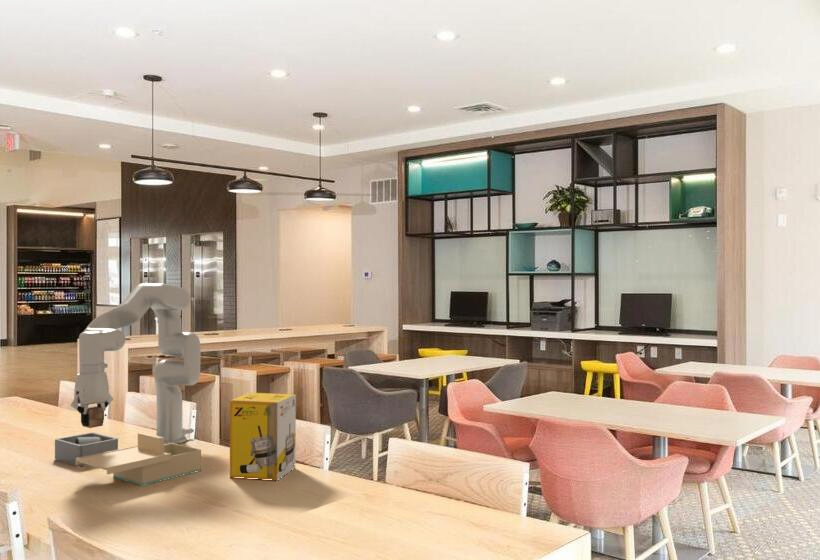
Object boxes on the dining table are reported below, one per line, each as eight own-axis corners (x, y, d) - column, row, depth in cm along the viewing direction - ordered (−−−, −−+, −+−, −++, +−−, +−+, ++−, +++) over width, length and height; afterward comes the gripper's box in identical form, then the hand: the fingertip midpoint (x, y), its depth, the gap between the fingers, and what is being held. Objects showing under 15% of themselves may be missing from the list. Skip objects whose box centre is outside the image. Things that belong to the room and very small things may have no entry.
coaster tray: (92, 451, 278) (92, 432, 278) (118, 458, 268) (118, 438, 268) (54, 459, 266) (54, 439, 266) (79, 466, 256) (79, 446, 256)
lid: (138, 451, 253) (138, 430, 253) (171, 459, 242) (171, 438, 242) (75, 464, 235) (75, 442, 235) (107, 474, 225) (107, 451, 225)
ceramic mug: (103, 458, 268) (103, 436, 268) (78, 461, 263) (78, 439, 263) (96, 453, 276) (96, 431, 276) (71, 456, 271) (71, 434, 271)
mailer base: (171, 463, 262) (171, 442, 262) (201, 470, 253) (201, 449, 252) (113, 476, 245) (113, 455, 245) (142, 485, 235) (142, 462, 235)
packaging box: (277, 481, 241) (277, 402, 241) (229, 478, 244) (229, 400, 244) (295, 468, 257) (295, 394, 256) (250, 465, 260) (250, 392, 260)
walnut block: (95, 423, 254) (95, 405, 254) (102, 425, 251) (102, 407, 251) (82, 426, 250) (82, 408, 250) (90, 428, 248) (89, 409, 247)
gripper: (109, 364, 259) (109, 418, 260) (61, 371, 246) (61, 427, 246) (121, 367, 255) (122, 421, 255) (73, 373, 241) (74, 430, 242)
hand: (92, 423), depth 251 cm, fingers closed on walnut block, 4 cm apart
